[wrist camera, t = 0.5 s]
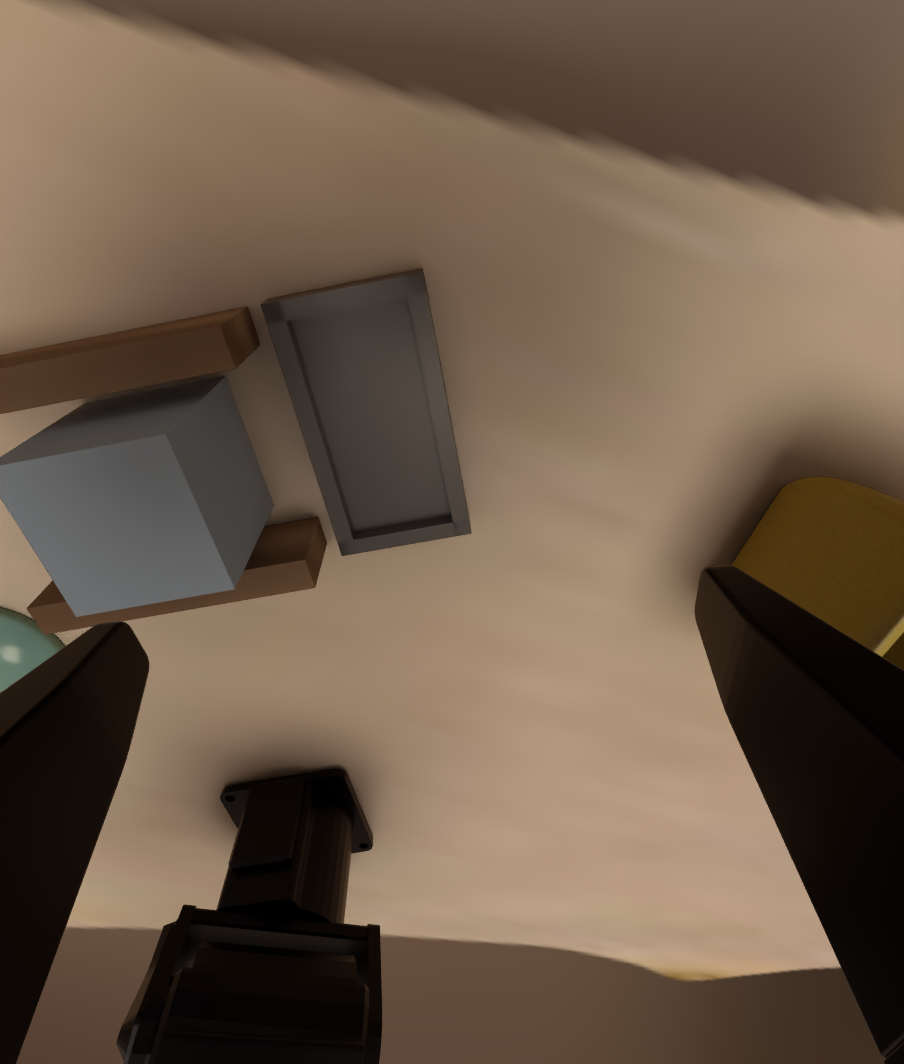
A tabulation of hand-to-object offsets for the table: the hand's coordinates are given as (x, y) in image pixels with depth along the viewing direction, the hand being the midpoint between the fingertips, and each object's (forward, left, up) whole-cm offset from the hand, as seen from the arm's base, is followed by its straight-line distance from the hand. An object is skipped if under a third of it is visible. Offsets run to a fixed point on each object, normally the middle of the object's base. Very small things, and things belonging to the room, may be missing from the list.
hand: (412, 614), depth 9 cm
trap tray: (-1, +2, -13) cm, 13 cm away
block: (-1, +9, -13) cm, 16 cm away
